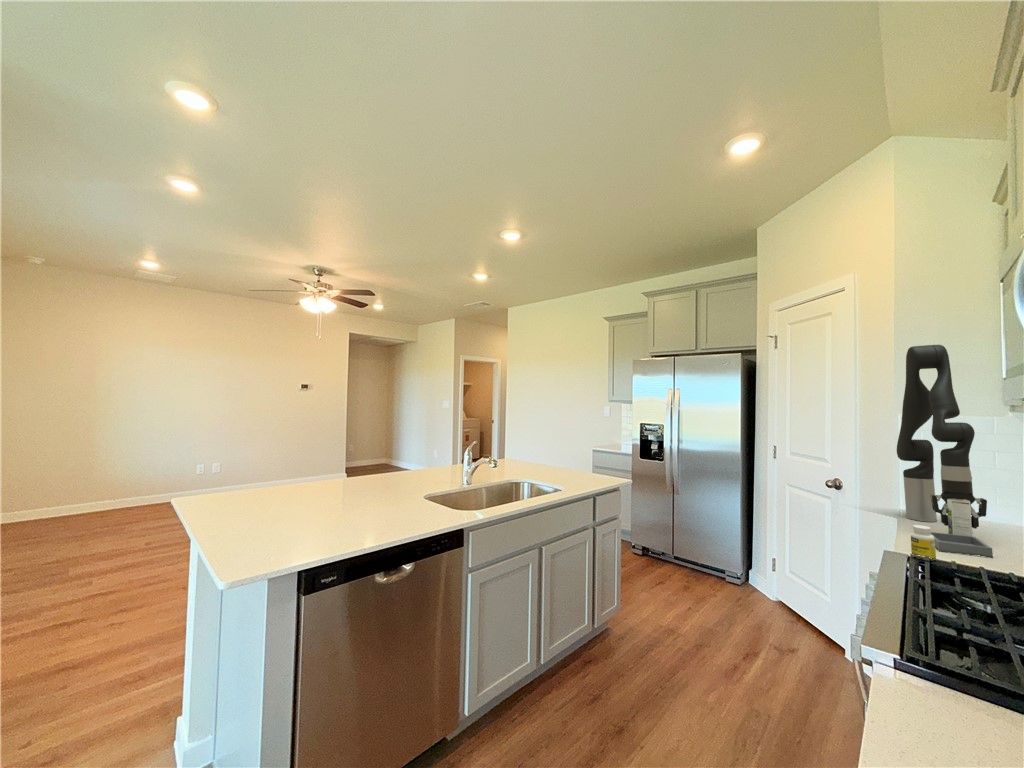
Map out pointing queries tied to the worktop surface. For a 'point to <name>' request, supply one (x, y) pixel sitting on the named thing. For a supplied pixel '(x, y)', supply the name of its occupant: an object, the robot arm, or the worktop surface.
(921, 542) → the supplement bottle
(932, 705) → the worktop surface
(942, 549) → the tray
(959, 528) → the syrup box
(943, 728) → the worktop surface
